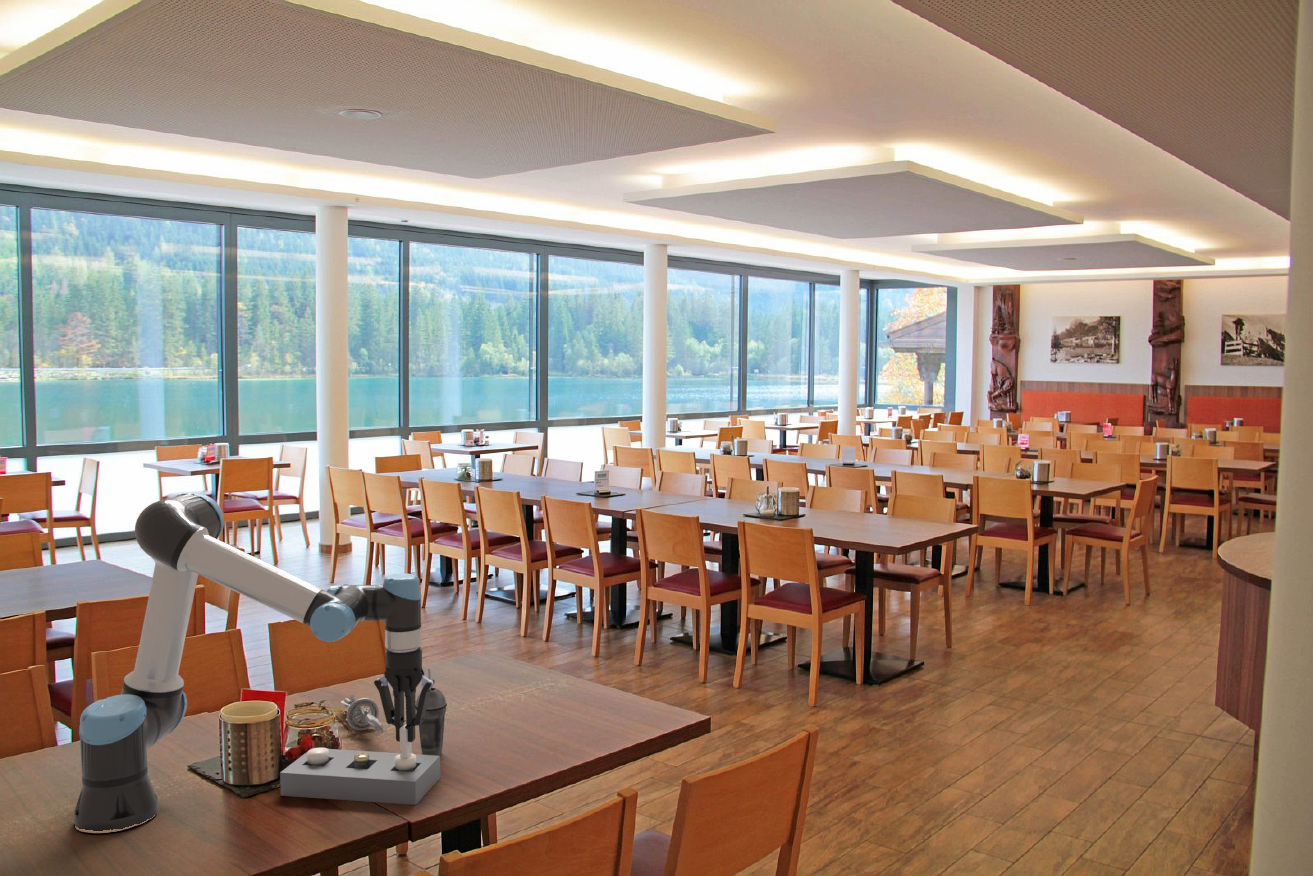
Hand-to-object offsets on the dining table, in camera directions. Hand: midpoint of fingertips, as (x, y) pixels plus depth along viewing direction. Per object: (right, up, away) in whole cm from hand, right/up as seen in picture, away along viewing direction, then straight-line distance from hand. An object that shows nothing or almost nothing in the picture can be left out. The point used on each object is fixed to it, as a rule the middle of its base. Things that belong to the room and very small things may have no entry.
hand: (406, 755), depth 218 cm
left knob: (-20, -5, +3) cm, 21 cm away
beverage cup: (+1, -6, +21) cm, 22 cm away
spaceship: (-20, -5, +36) cm, 42 cm away
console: (-10, -7, +2) cm, 13 cm away
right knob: (0, -5, 0) cm, 5 cm away
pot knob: (-10, -4, +2) cm, 11 cm away
